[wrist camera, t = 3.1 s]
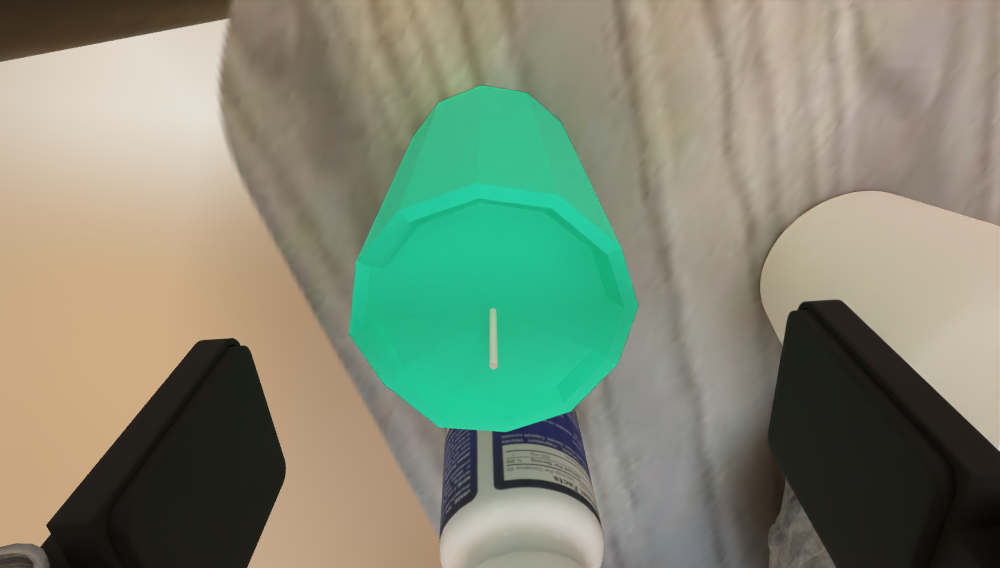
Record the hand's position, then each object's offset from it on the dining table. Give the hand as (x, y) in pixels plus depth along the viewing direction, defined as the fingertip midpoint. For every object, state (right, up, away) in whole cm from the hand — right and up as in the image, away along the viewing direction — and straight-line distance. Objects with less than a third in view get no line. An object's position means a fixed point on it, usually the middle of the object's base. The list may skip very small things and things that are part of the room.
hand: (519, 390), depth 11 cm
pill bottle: (0, -4, +16) cm, 17 cm away
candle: (-1, +6, +11) cm, 13 cm away
